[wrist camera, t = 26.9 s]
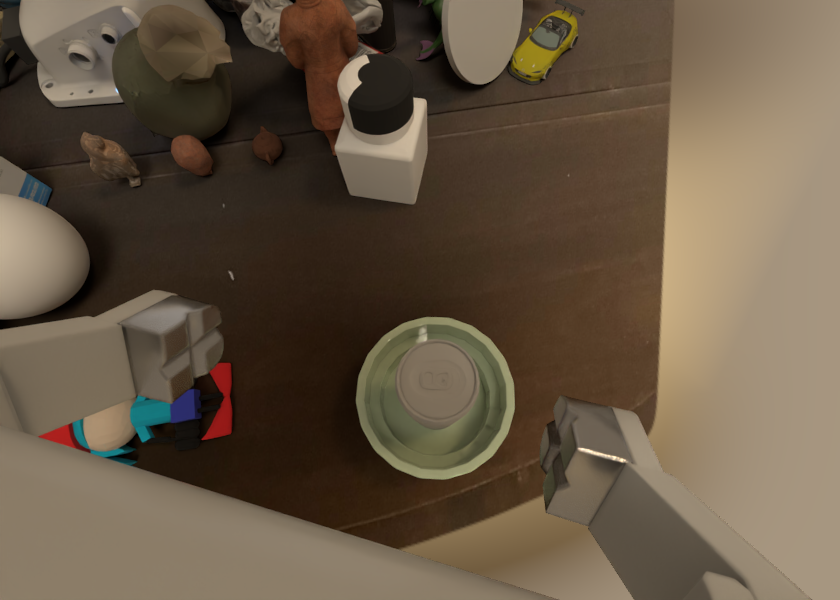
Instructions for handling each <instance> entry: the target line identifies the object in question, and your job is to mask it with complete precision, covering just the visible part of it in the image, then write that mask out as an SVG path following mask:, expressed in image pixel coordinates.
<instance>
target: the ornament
mask: <svg viewBox="0 0 840 600" xmlns="http://www.w3.org/2000/svg"><path fill="white" fill-rule="evenodd" d="M89 267H90V257H89V252H88V249H87V246H86V244H85V242H84V240H83V238H82V237H81V235H80V234H79V233H78V231H77V230H76V229H75V228H74V227H73V226H72V225H71V224H70V223H69V222H68V221H67V220H65V219H64V218H63V217H62V216H60V215H59V214H57V213H56V212H54V211H53V210H51V209H49V208H47V207H45V206H43V205H41V204H39V203H37V202H34V201H31V200H29V199H25V198H22V197H18V196H14V195H8V194H0V319H21V318H27V317H32V316H36V315H40V314H43V313H46V312H48V311H51V310H53V309H55V308H57V307H59V306H61V305H62V304H64V303H66V302H67V301H68V300H70V299H71V298H72V297H73V296H74V295H75V294H76V293H77V292H78V291H79V290H80V288H81V287H82V285H83V284H84V282H85V280H86V278H87V275H88V272H89Z"/></svg>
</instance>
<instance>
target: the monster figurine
mask: <svg viewBox="0 0 840 600" xmlns="http://www.w3.org/2000/svg"><path fill="white" fill-rule="evenodd" d="M419 2H420V5H421V3H422V4H423V5H428V4H430V5H432V8H433V12H434V14H435V16H436V18H437V20H439V21H440V25H441V24H442V29H441V31H440V33H439V35H438V37H437V39H436V40H435V41H434V43H432V42H430V41H427V40H423V41H421V42H420V43H422V44H423V49H422V50H421V51H420V57H419V58H417V59H416V60H421V59H425V58H427V57H428V56H429V55H430V54H431V53H432V52H433V51H434V49H435V48H436V47H438V46H439V45H440V44H441V43H442V42H444V47H445V52H446V55H447V58H448V61H449V63H450V65H451V67H452V69H453V70H454V72H455V73H456V74H457V75H458V76H459V77H460V78H461V79H462V80H464V81H465V82H468V83H471V84H485V83H488V82H490V81H492V80H494V79H495V78H496V77H497V76H498V75H499V74H500V73H501V72H502V71H503V70H504V68H505V67H506V65H507V64H508V62H509V60H510V58H511V56H512V54H513V51H514V49H515V46H516V43H517V40H518V36H519V32H520V27H521V21H522V11H523V0H419ZM420 5H419V6H420ZM430 11H431V10H430ZM432 14H433V13H432ZM431 16H432V15H431ZM435 16H434V17H435ZM434 17H433V18H434ZM430 18H431V17H430ZM437 20H436V21H437ZM432 21H433V19H432ZM435 23H436V22H435ZM440 25H439V27H440ZM434 27H435V25H434ZM439 27H438V29H439ZM437 32H438V30H437Z"/></svg>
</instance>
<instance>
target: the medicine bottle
mask: <svg viewBox="0 0 840 600" xmlns="http://www.w3.org/2000/svg"><path fill="white" fill-rule="evenodd" d="M337 87H338V92H339V96H340V100H341V103H342V107H343V111H344V115H345V117H344V120H343V123H342V126H341V129H340V132H339V135H338V138H337V141H336V144H335V152H336V155H337V158H338V161H339V164H340V167H341V170H342V173H343V176H344V179H345V182H346V185H347V188H348V191H349V193H350V195H352V196H358V197H365V198H371V199H378V200H385V201H391V202H398V203H404V204H411V205H413V204H415V202H416V199H417V194H418V190H419V186H420V182H421V177H422V173H423V169H424V164H425V160H426V156H427V102H426V100H425V99H421V98H413V80H412V75H411V72H410V70H409V69H408V67H407V66H406V65H405V64H404V63H403V62H401V61H400V60H399V59H397V58H395V57H393V56H390V55H386V54H379V53H375V54H367V55H363V56H360V57H358V58H356V59H354V60H352V61H351V62H350V63H349V64H347V65H346V67H345V68H344V69H343V71H342V72H341V74H340V76H339V78H338V83H337Z"/></svg>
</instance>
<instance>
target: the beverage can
mask: <svg viewBox="0 0 840 600" xmlns="http://www.w3.org/2000/svg"><path fill="white" fill-rule="evenodd" d="M479 385H480V381H479V373H478V370H477V368H476V365H475V362H474V360H473V359H472V358H471V356H470V355H469V354H468V352H467V351H466V350H464V349H463V348H462V347H461V346H459V345H458V344H455V343H453V342H451V341H448V340H443V339H430V340H426V341H423V342H420V343H418V344H417V345H415V346H414V347H412V348H411V349H409V351H408V352H407V353H406V354H405V355H404V356H403V357H402V359H401V361H400V363H399V365H398V367H397V370H396V375H395V390H396V393H397V397H398V400H399V402H400V404H401V405H402V407H403V408H404V410H405V411H406V412H407V413H408V414H409V415H410V416H411V417H412V418H413V419H414V420H415V421H416V422H418V423H419V424H421V425H422V426H424V427H426V428H429V429H433V430H438V429H444V428H446V427H449V426H450V425H452V424H453V423H455V422H456V421H458V420H459V419H461V418H462V417H463V416H465V415H466V414H467V413H468V412H469V410H470V409H471V408H472V407H473V405H474V403H475V401H476V399H477V396H478V392H479Z"/></svg>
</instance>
